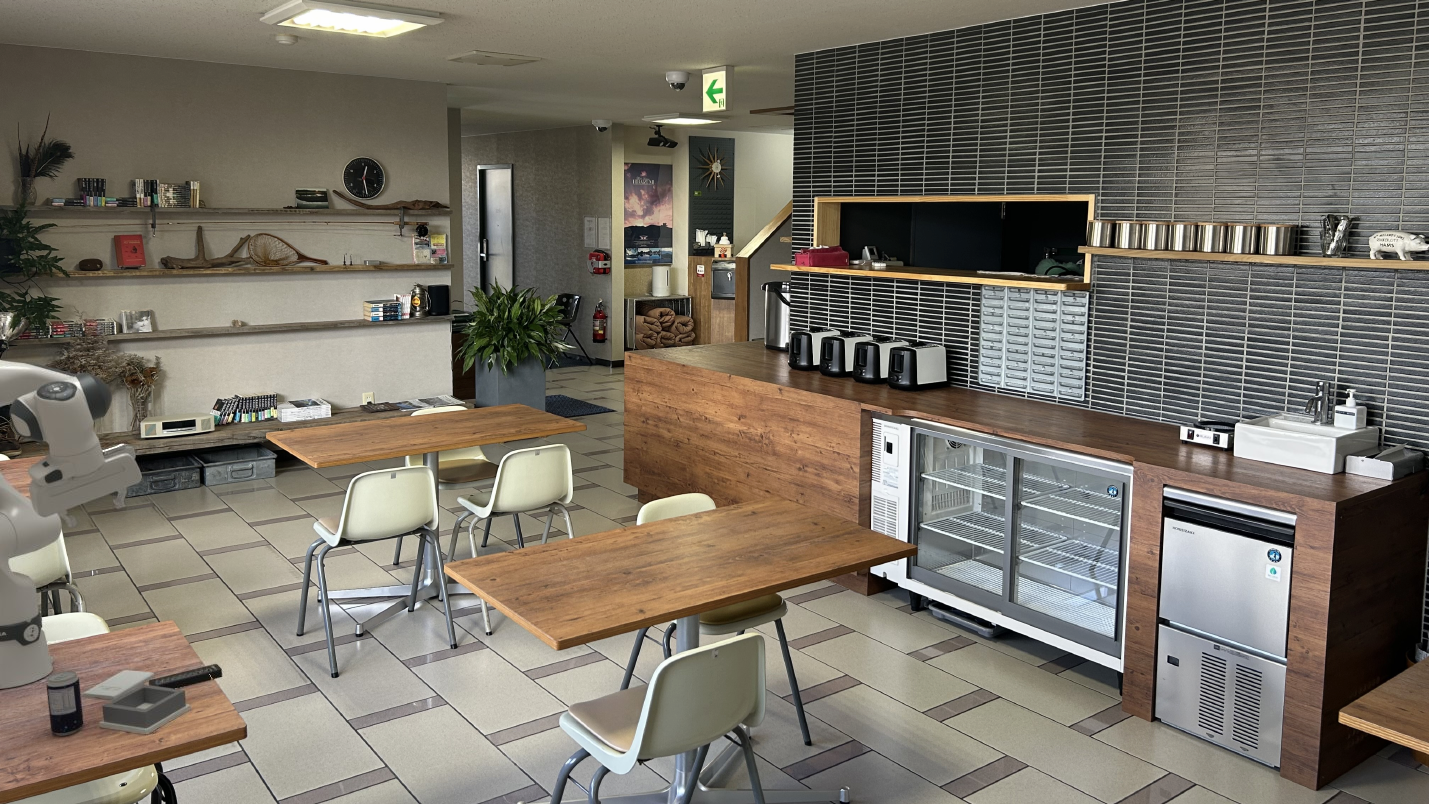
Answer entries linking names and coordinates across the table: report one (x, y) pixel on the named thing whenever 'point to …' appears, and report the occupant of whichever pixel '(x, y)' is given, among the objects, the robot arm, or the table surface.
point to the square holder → (144, 709)
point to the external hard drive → (118, 685)
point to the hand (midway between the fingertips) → (96, 516)
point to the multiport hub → (188, 677)
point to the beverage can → (64, 703)
